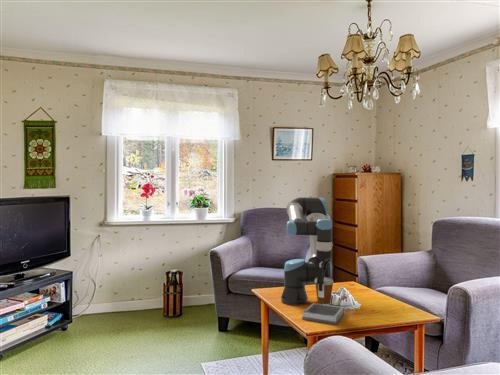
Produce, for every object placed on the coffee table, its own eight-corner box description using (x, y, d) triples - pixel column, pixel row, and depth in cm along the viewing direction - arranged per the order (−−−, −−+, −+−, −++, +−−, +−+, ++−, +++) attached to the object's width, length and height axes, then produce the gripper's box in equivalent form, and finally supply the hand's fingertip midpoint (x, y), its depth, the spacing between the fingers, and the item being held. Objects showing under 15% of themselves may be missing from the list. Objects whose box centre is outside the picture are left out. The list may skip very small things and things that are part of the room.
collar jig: (302, 319, 198) (302, 312, 198) (312, 309, 213) (312, 302, 213) (336, 324, 191) (336, 317, 191) (344, 314, 206) (344, 307, 206)
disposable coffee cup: (329, 306, 195) (329, 282, 195) (311, 303, 200) (311, 279, 200) (336, 301, 203) (336, 278, 203) (318, 299, 208) (318, 275, 208)
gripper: (325, 253, 190) (325, 301, 190) (337, 247, 210) (336, 290, 210) (310, 252, 193) (310, 299, 194) (322, 246, 213) (322, 288, 213)
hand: (323, 294), depth 202 cm, fingers closed on disposable coffee cup, 9 cm apart
